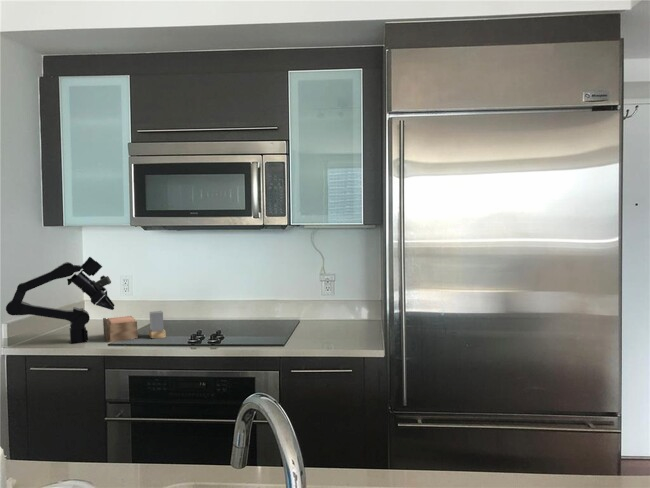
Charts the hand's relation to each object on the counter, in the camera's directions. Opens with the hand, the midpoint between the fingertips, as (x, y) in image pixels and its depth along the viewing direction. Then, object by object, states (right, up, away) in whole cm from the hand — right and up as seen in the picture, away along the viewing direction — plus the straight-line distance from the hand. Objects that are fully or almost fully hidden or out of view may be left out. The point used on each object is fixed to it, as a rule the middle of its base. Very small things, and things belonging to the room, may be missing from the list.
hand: (113, 307), depth 253 cm
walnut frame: (+3, -13, +1) cm, 14 cm away
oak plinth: (+19, -13, +1) cm, 23 cm away
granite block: (+19, -10, 0) cm, 21 cm away
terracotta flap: (+3, -6, +1) cm, 7 cm away
